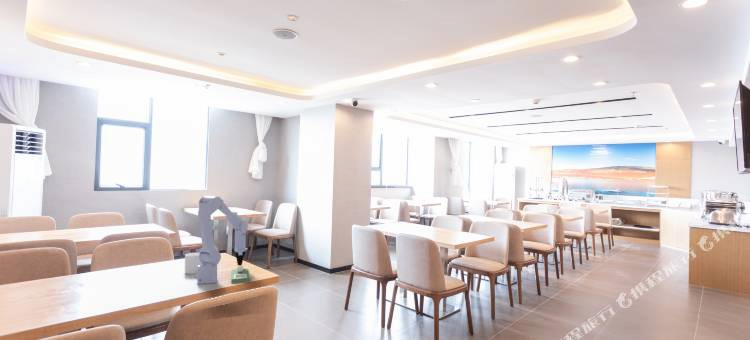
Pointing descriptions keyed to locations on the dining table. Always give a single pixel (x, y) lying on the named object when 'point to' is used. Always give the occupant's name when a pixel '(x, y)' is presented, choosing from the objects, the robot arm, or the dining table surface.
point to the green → (240, 276)
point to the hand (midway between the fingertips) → (239, 265)
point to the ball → (240, 268)
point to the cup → (192, 263)
